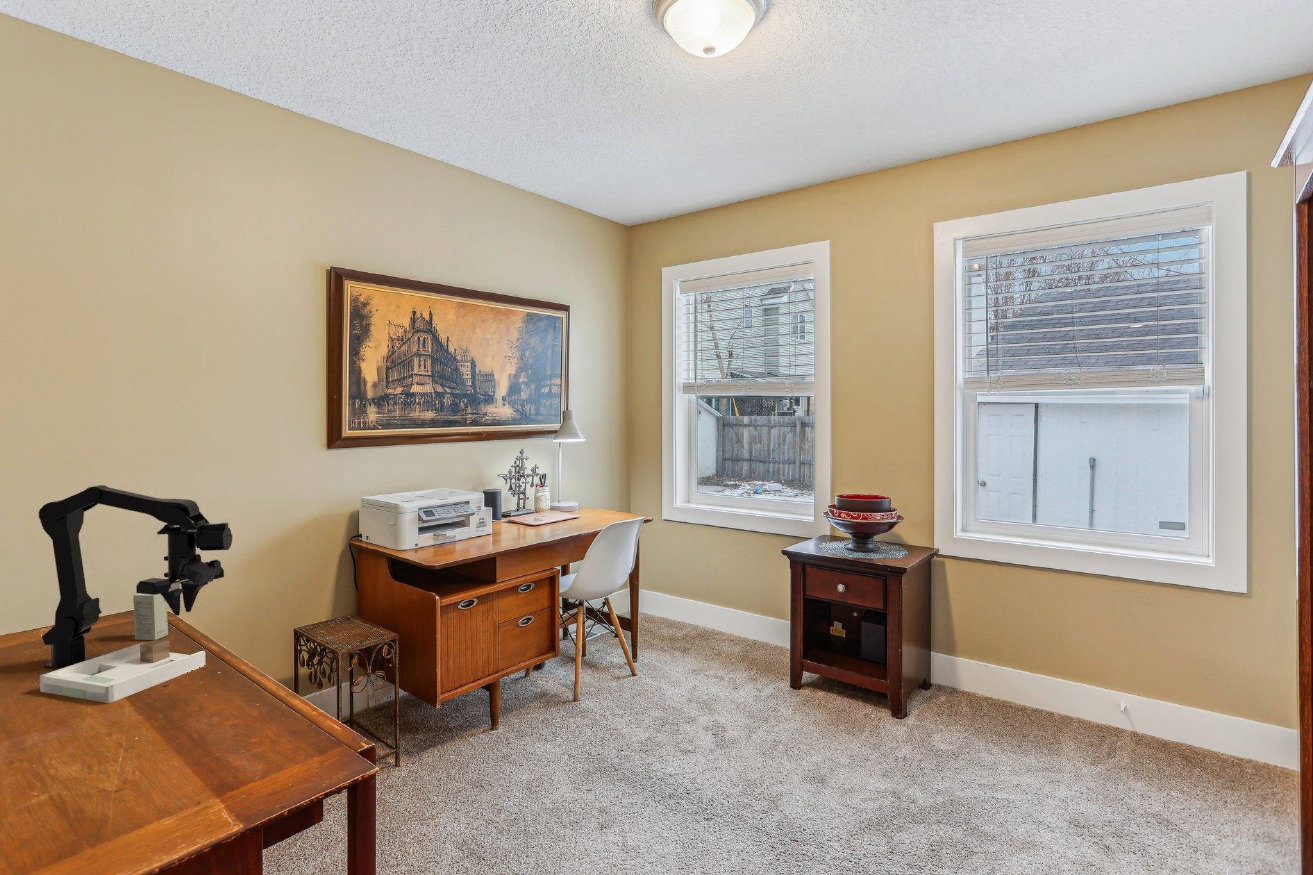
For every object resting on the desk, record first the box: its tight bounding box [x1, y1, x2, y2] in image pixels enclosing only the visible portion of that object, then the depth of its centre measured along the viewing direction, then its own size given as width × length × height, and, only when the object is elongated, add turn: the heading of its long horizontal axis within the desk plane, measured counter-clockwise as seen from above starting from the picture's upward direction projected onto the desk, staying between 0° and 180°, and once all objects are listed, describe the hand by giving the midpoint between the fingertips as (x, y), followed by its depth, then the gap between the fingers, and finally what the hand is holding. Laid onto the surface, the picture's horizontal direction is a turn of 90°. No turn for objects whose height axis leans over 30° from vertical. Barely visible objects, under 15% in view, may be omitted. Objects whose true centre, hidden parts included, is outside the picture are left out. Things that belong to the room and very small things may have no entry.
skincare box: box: [132, 593, 169, 641], centre depth 179 cm, size 6×4×12 cm
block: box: [140, 638, 171, 663], centre depth 158 cm, size 4×4×4 cm
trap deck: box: [39, 642, 206, 704], centre depth 152 cm, size 20×22×4 cm
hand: (182, 613), depth 165 cm, fingers open, 3 cm apart
